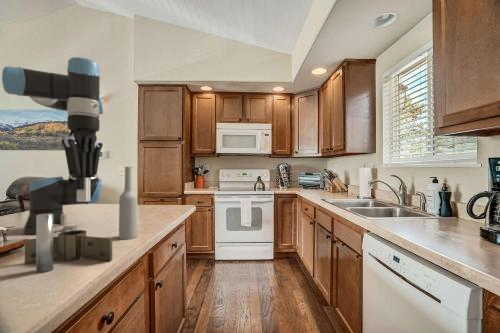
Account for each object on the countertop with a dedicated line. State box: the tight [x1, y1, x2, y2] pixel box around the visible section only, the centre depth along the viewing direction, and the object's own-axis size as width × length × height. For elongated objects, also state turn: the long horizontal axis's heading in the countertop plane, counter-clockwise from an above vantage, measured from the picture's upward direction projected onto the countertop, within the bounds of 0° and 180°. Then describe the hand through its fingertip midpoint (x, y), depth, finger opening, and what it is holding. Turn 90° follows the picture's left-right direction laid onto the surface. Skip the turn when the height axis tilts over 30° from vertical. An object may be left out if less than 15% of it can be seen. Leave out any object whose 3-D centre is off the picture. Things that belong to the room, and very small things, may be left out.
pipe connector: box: [53, 213, 78, 234], centre depth 99 cm, size 10×10×10 cm
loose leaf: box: [82, 235, 113, 262], centre depth 79 cm, size 10×1×6 cm, turn 76°
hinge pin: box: [35, 214, 54, 274], centre depth 71 cm, size 4×4×15 cm
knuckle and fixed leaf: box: [24, 229, 87, 265], centre depth 79 cm, size 7×15×8 cm, turn 116°
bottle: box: [118, 166, 138, 240], centre depth 104 cm, size 7×7×28 cm
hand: (83, 201), depth 73 cm, fingers closed
